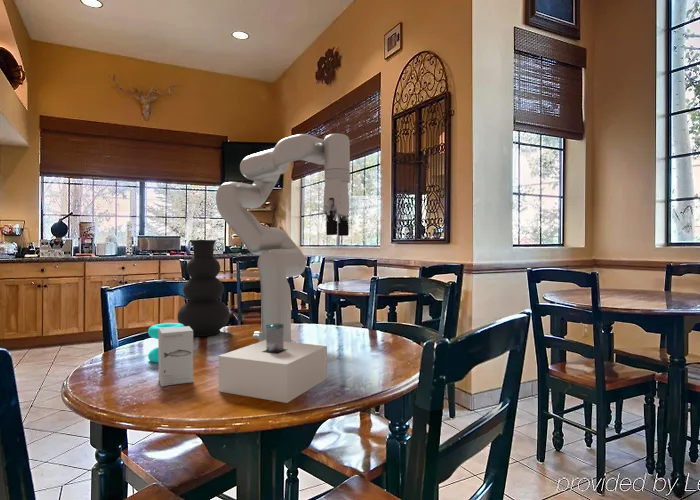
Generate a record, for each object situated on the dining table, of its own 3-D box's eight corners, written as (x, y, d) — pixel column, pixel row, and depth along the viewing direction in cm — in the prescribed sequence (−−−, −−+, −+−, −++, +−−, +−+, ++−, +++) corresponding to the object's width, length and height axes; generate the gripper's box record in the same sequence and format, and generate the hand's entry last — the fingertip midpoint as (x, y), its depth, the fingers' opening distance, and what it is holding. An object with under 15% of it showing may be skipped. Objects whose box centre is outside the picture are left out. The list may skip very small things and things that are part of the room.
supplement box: (160, 387, 100) (160, 333, 100) (158, 379, 107) (157, 327, 107) (194, 382, 104) (193, 330, 104) (190, 374, 110) (189, 325, 110)
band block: (218, 391, 97) (218, 355, 97) (266, 370, 114) (265, 339, 114) (287, 402, 90) (286, 364, 90) (327, 378, 106) (326, 346, 106)
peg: (262, 358, 101) (262, 325, 101) (272, 354, 104) (272, 323, 104) (277, 360, 99) (277, 327, 99) (287, 356, 103) (286, 324, 103)
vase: (192, 329, 171) (191, 240, 171) (237, 329, 169) (236, 240, 169) (167, 339, 153) (166, 240, 153) (218, 340, 151) (217, 239, 151)
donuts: (191, 324, 126) (157, 329, 118) (192, 359, 126) (157, 366, 118) (175, 320, 132) (142, 325, 125) (176, 353, 133) (142, 359, 125)
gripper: (335, 182, 137) (336, 236, 137) (313, 173, 121) (314, 234, 121) (358, 180, 135) (358, 235, 135) (339, 171, 118) (339, 234, 119)
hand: (337, 235), depth 128 cm, fingers open, 9 cm apart
